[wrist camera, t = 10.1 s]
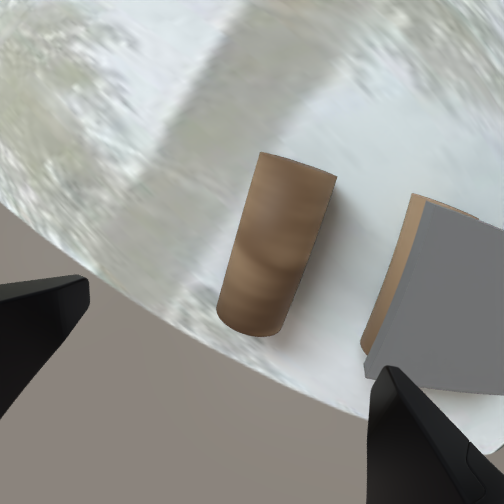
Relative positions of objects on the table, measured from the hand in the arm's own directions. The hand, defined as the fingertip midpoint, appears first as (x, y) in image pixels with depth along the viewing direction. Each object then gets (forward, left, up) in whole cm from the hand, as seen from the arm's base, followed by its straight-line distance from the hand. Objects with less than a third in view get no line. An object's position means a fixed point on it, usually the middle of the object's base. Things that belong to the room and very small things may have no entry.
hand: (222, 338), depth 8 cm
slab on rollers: (-12, 0, -11) cm, 16 cm away
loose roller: (0, 0, -9) cm, 9 cm away
